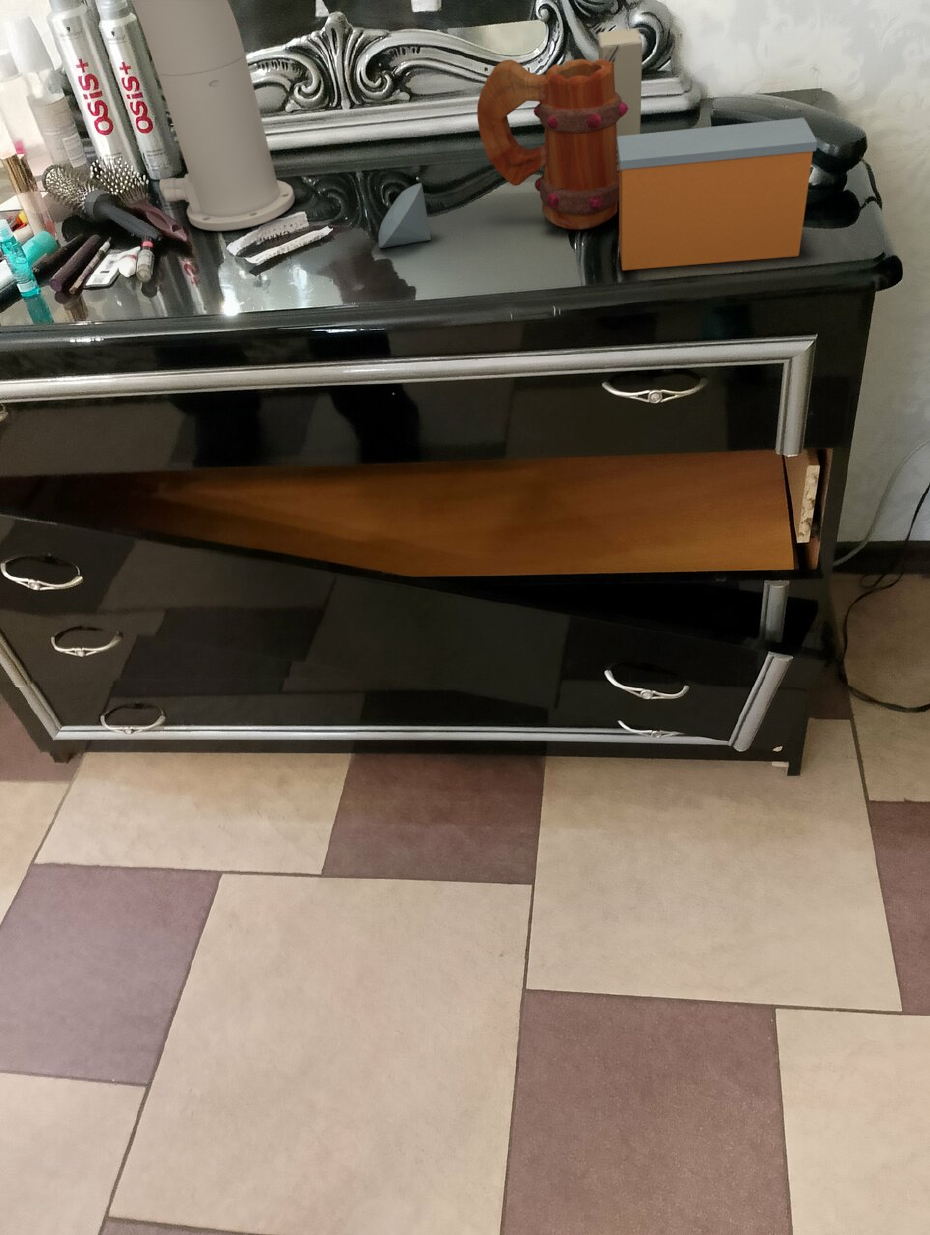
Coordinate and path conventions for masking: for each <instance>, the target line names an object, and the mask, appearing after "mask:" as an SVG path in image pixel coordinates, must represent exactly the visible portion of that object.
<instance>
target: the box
mask: <svg viewBox="0 0 930 1235" xmlns="http://www.w3.org/2000/svg"><path fill="white" fill-rule="evenodd" d="M597 40H598V42H597V43H598V45H597V46H598V59H604V60H606V61H609V62H613V63H614V81H615V92H617V93H618V94H619V95H620V97H621V99H622V102H623V103H625V104H626V105H627V107H628V111H627V113H626V114H625V115H624V116H622V117H621V118H620V119H619V120H618V121H617V122H616V127H617V136H626V135H636V134H641V118H642V117H641V116H642V80H643V79H642V77H643V76H642V73H643V72H642V71H643V40H642V36H641V33H640V30H639V29H638V28H636V27H635V28H626V29H618V30H609V31H601V32H598V33H597ZM617 172H619V158H618V150H617Z"/></svg>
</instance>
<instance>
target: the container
mask: <svg viewBox="0 0 930 1235" xmlns="http://www.w3.org/2000/svg"><path fill="white" fill-rule="evenodd" d="M817 146H818V140H817V138H816V137H815V135H814V133H813V131H812V129H811V128H810V126H809V124H808V122H807V121H806V119H805V117H799V118H787V119H786V118H785V119H777V120H767V121H758V122H747V123H736V124H727V125H717V126H708V127H707V126H706V127H698V128H686V129H678V130H667V131H666V130H665V131H658V132H647V133H640V134H636V135H626V136H617V150H618V158H619V171H618V173H619V201H618V203H619V205H618V208H619V209H618V211H619V214H618V218H619V219H618V220H619V221H618V222H619V223H618V228H619V229H618V233H619V234H618V236H619V237H618V238H619V240H618V241H619V242H618V243H619V244H618V246H619V253H620V255H619V256H620V261H621V262H620V263H621V271H632V270H645V269H647V270H648V269H656V268H658V269H659V268H669V267H680V266H681V267H683V266H694V265H705V264H720V263H730V262H742V261H744V262H745V261H755V260H756V261H757V260H768V259H780V258H791V257H799V256H800V249H801V242H802V235H803V229H804V228H803V227H804V220H805V212H806V205H807V199H808V198H807V197H808V192H809V184H810V177H811V176H810V174H811V168H812V161H813V153H814V152H816V151H817V149H818V148H817Z"/></svg>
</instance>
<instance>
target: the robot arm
mask: <svg viewBox="0 0 930 1235" xmlns="http://www.w3.org/2000/svg"><path fill="white" fill-rule="evenodd" d="M130 2H131V4H132V7H133V8H134V11H135V13H136V16H137V18H138V21H139V23H140V26H141V29H142V32H143V34H144V38H145V42H146V44H147V46H148V50H149V52H150V55H151V59H152V61H153V65H154V68H155V71H156V74H157V77H158V80H159V84H160V86H161V90H162V93H163V96H164V99H165V102H166V106H167V110H168V112H169V115H170V118H171V122H172V125H173V128H174V131H175V134H176V138H177V142H178V144H179V147H180V151H181V154H182V157H183V161H184V164H185V166H186V169H187V173H185V175H184V177H179V178H176V177H170V178H161V179H160V180H159V183H158V184H159V185H158V186H159V190H160V193H161V195H162V197H164V200H165V201H166V203H170V202H178V201H185V202H186V203H188V205H187V209H186V215H187V217H188V218H187V219H188V220H189V222H190V224H191V225H192V226H193V227H196V228H197V229H200V230H204V231H211V232H226V231H237V230H243V229H247V228H252V227H255V226H258V225H261V224H264V223H267V222H270V221H272V220H275V219H276V218H278V217H281V215H284V213H286V212H287V211H289V209H290V208H292V206H293V204H294V203H295V198H296V197H295V193H294V189H293V187H292V186H291V185H290V184H289V183H287V182H285V181H281V180H279V179H277V176H276V172H275V168H274V164H273V160H272V155H271V152H270V148H269V144H268V140H267V135H266V131H265V128H264V123H263V120H262V116H261V111H260V108H259V104H258V99H257V96H256V91H255V87H254V83H253V79H252V76H251V71H250V68H249V63H248V60H247V56H246V52H245V48H244V45H243V44H244V43H243V41H242V36H241V33H240V30H239V27H238V23H237V20H236V17H235V16H234V12H233V10H232V8H231V5H230V4H229V2H228V0H130Z"/></svg>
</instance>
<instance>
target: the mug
mask: <svg viewBox="0 0 930 1235" xmlns="http://www.w3.org/2000/svg"><path fill="white" fill-rule="evenodd" d="M526 102H537V103H538V104H536V106H535V107H534V110H533V115H534V116H535V117H537V119H538V120H539V122H540V125H541V126H543V127H544V144H542V145H540V146H536V147H533V148H531V149H528V148H526V147H524V146H522V145H520V143H519V142H518V141H517V140H516V138H515V137H514V135H513V134H512V130H511V126H510V122H509V118H508V116H509V115H510V114H512V112H514V111H515V110H517V109H518V108H520V107H521V106H522V105H523V104H525V103H526ZM627 111H628V107H627V105H626V104H625V103H623V102H622V99H621V97H620V95H619V94H618V93H617V92H615V81H614V63H613V62H609V61H606V60H604V59H599V58H597V59H596V60H594V61H593V62H592V61H591V60H590V59H586V58H577V59H570V60H566V61H565V62H564V63H563V65H561V64H553V65H551V67H550V68H548V69H547V71H546V73H545V74H540V73H539V74H538V73H533V72H530V71H529V70H528V69H527V68H525V67H524V66H522V65H521V64H520V63H519V62H518V61H516V60H514V59H504V60H502V61H500V62H499V63H498V64H496V66H494V67H493V69H492V71H491V72H490V74H489V75H488V77H487V78H486V79H485V83H484V85H483V87H482V88H481V91H480V95H479V99H478V102H477V109H476V113H477V115H476V117H477V123H478V131H479V135H480V140H481V142H482V146H483V148H484V150H485V154H486V157H487V158H488V160H489V161H490V163H491V164H492V165H493V167H494V168H495V169H496V171H497V172H498V174H500V176H502V177H503V178H504V179H505V180H506V181H507V182H508V183H510V184H511V186H515V187H518V186H520V185H521V184H522V183H523V182H525V180H527V179H528V178H530V177H531V176H533V175H534V174H535V173H536V172H538V171H539V170H540V169H542V168H543V173H542V175H541V176H540V177H538V178H537V179H536V180H535V182H534V188H535V189H536V190H537V192H539V197H540V200H541V201H542V206H541V212H542V213H543V215H544V217H545V218H546V220H548V222H550V223H551V224H553V225H555V226H558V227H561V228H563V229H567V230H574V231H578V230H582V231H585V230H587V229H593V228H595V227H599V226H600V225H602V224H603V223H606V222H608V221H610V220H611V219H612V218H613V217H614V216H615V215H616V214H617V212H618V203H619V171H617V127H616V122H617V121H618V120H619V119H620V118H621V117H622V116H624V115H625V114H626V113H627Z"/></svg>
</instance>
